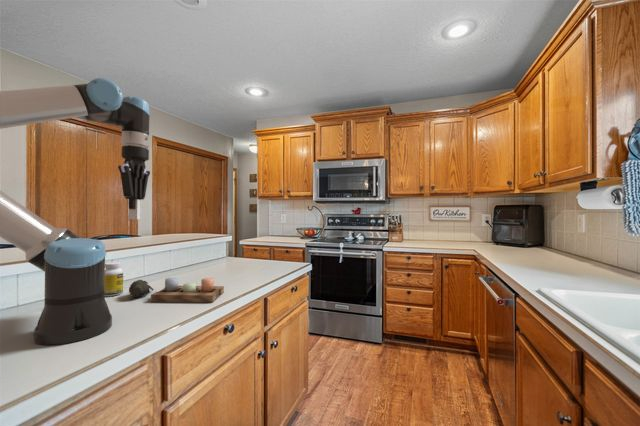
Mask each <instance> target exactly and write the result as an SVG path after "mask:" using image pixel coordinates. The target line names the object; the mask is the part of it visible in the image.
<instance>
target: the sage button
mask: <svg viewBox="0 0 640 426" xmlns="http://www.w3.org/2000/svg"><path fill="white" fill-rule="evenodd" d="M182 286H183V292H195V291H196V286H197V283H194V282H189V283H187V282H186V283H184V284H183V285H182Z"/></svg>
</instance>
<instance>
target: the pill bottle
mask: <svg viewBox="0 0 640 426" xmlns="http://www.w3.org/2000/svg"><path fill="white" fill-rule="evenodd" d="M121 265H122V263H121V262H120V261H112V262H105V289H104V297H106V298H107V297H116V296H120V295H122V294H123V293H124V270H123V269H122V268H121V267H122V266H121Z"/></svg>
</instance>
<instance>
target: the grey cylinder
mask: <svg viewBox="0 0 640 426" xmlns="http://www.w3.org/2000/svg"><path fill="white" fill-rule="evenodd" d="M178 286H179V278H178V277H168V278H165V279H164V288H165V291H167V292H172V291H176V290H178Z"/></svg>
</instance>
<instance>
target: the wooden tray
mask: <svg viewBox="0 0 640 426" xmlns="http://www.w3.org/2000/svg"><path fill="white" fill-rule="evenodd" d="M224 288H225V287H224V285H214V290H213V291H211V292H202V291H201V285H196V291H195V292H183V285H178V290H176V291H172V292H167V291H165V287H164V288H162V289H161V290H159V291H155V292H154V293H152V294H150V302H151V303H193V304H194V303H197V304H198V303H204V304H205V303H206V304H207V303H210V304H211V303H212V304H213V303H214V302H216V301H217V300H218V299H219V297H221V296H222V295H223V294H224V293H225V292H224Z"/></svg>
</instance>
